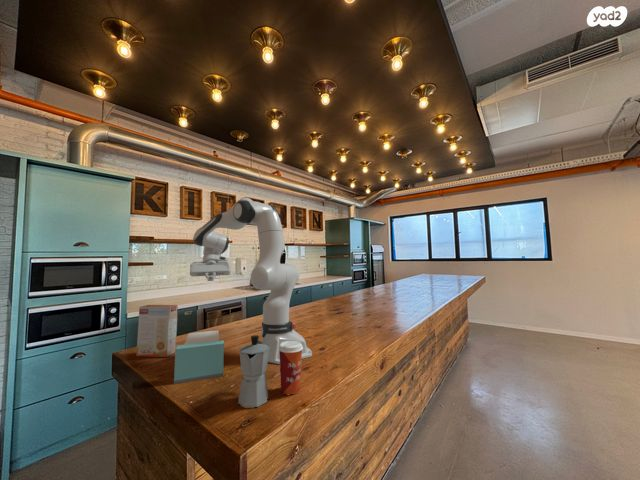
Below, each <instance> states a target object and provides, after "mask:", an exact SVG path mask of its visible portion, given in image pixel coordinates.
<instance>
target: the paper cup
mask: <svg viewBox="0 0 640 480" xmlns="http://www.w3.org/2000/svg"><path fill="white" fill-rule="evenodd" d="M302 349H303V346H302V344H301V343H300V342H298V341H285V342H282V343H281V344H280V347H279V351H280V364H279V366H280V367H279V369H280V370H279V371H280V389H281V390H280V391H281V394H283V393H284V394H294V393H296V392H298V391H299V392H300V387H301V373H302V360H303V359H302ZM299 392H298V393H299ZM284 394H283V395H284Z"/></svg>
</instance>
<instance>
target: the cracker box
mask: <svg viewBox="0 0 640 480" xmlns="http://www.w3.org/2000/svg"><path fill="white" fill-rule="evenodd" d="M178 307H179V306H178V304H146V305H141V306H139V309H138V310H139V311H138V324H137V325H138V326H137V339H136V340H137V342H136V354H135V355H136V357H147V358H149V357H150V358H151V357H153V358H168V357H169V356H171V355H174V354H175V351H176V347H177V331H178V330H177V329H178Z"/></svg>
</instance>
